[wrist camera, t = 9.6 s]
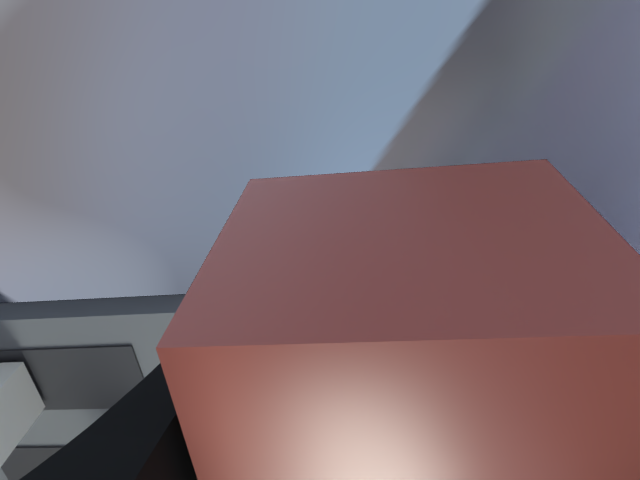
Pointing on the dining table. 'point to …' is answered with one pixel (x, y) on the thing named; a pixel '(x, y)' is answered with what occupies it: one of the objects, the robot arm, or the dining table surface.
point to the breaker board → (79, 362)
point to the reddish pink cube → (411, 331)
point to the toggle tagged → (16, 406)
